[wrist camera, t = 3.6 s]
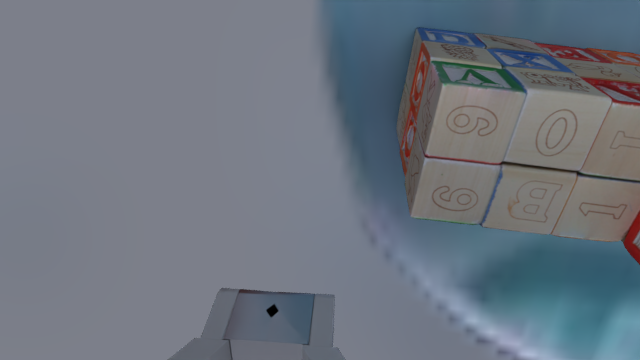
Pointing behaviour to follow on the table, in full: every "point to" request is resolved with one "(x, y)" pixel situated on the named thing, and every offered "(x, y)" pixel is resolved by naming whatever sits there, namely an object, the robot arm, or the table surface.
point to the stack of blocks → (522, 136)
